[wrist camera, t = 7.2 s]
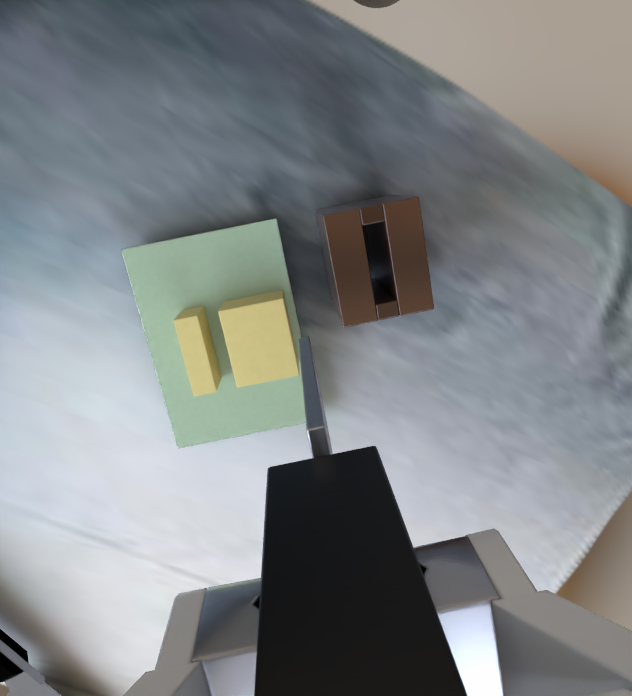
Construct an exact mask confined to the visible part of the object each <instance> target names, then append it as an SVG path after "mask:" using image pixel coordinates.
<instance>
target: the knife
mask: <svg viewBox="0 0 632 696" xmlns="http://www.w3.org/2000/svg"><path fill="white" fill-rule="evenodd" d="M298 346H299V356H300V367H301V377H302V387H303V398H304V408H305V418H306V429H307V435H308V439H309V444H310V448H311V453H312V459H307V460H302V461H297V462H292V463H288V464H283V465H278V466H273V467H269V468H268V471H267V487H266V504H265V521H264V538H263V555H262V571H261V588H260V605H259V622H258V639H257V655H256V672H255V689H254V696H468V695H467V693H466V690H465V687H464V684H463V682H462V679H461V676H460V673H459V671H458V668H457V665H456V663H455V660H454V657H453V654H452V652H451V649H450V646H449V644H448V641H447V638H446V635H445V633H444V630H443V627H442V624H441V622H440V619H439V616H438V614H437V611H436V608H435V605H434V603H433V600H432V597H431V594H430V592H429V589H428V586H427V584H426V581H425V578H424V575H423V573H422V570H421V567H420V564H419V562H418V559H417V556H416V554H415V551H414V548H413V545H412V543H411V540H410V537H409V534H408V532H407V529H406V526H405V524H404V521H403V518H402V515H401V513H400V510H399V507H398V505H397V502H396V499H395V496H394V494H393V491H392V488H391V485H390V483H389V480H388V477H387V475H386V472H385V469H384V466H383V464H382V461H381V458H380V455H379V453H378V450H377V448H376V446H371V447H366V448H361V449H356V450H351V451H346V452H341V453H336V454H333V453H332V448H331V442H330V437H329V432H328V426H327V422H326V417H325V412H324V407H323V402H322V397H321V392H320V388H319V383H318V378H317V373H316V368H315V363H314V359H313V354H312V349H311V344H310V339H309V337H303V338H299V339H298Z"/></svg>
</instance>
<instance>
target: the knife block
mask: <svg viewBox="0 0 632 696" xmlns="http://www.w3.org/2000/svg"><path fill="white" fill-rule="evenodd" d="M315 213H316V219H317V224H318V229H319V235H320V240H321V245H322V251H323V256H324V261H325V267H326V272H327V277H328V283H329V288H330V293H331V299H332V301H333V304H334V306H335V308H336V311H337V313H338V315H339V318H340V320H341V323H342V325H343V327H349V326H354V325H359V324H364V323H369V322H374V321H377V320H383V319H388V318H393V317H398V316H399V315H400V316H403V315H408V314H413V313H418V312H423V311H428V310H433V309H434V304H433V297H432V289H431V282H430V275H429V268H428V260H427V253H426V246H425V238H424V231H423V224H422V217H421V209H420V202H419V197H417V196H399V195H387V196H382V197H377V198H372V199H367V200H363V201H357V202H352V203H347V204H344V205H343V204H342V205H337V206H332V207H327V208H322V209H317V210H315ZM362 225H366V227H367V233H368V239H369V245H370V251H371V257H372V263H373V270H374V276H375V278H372V279H371V276H370V270H369V264H368V258H367V252H366V246H365V240H364V234H363V228H362Z"/></svg>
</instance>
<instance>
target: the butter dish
mask: <svg viewBox="0 0 632 696" xmlns="http://www.w3.org/2000/svg"><path fill="white" fill-rule="evenodd" d="M121 252H122V256H123V259H124V263H125V266H126V270H127V273H128V277H129V280H130V284H131V287H132V291H133V294H134V298H135V301H136V305H137V308H138V311H139V315H140V318H141V322H142V325H143V329H144V332H145V336H146V339H147V343H148V346H149V350H150V353H151V357H152V360H153V364H154V367H155V371H156V374H157V378H158V381H159V385H160V388H161V392H162V395H163V399H164V402H165V406H166V409H167V413H168V416H169V420H170V423H171V427H172V430H173V434H174V437H175V441H176V444H177V448H183V447H188V446H193V445H198V444H203V443H208V442H213V441H218V440H223V439H228V438H233V437H238V436H243V435H248V434H253V433H258V432H263V431H268V430H273V429H278V428H283V427H288V426H293V425H298V424H303V423H306V418H305V408H304V398H303V387H302V377H301V367H300V356H299V346H298V339H299V338H302V337H301V332H300V327H299V323H298V318H297V313H296V308H295V303H294V298H293V294H292V289H291V284H290V279H289V274H288V269H287V265H286V260H285V255H284V250H283V245H282V240H281V236H280V231H279V226H278V221H277V218H273V219H268V220H263V221H258V222H253V223H248V224H243V225H238V226H233V227H228V228H223V229H218V230H213V231H208V232H203V233H198V234H193V235H188V236H183V237H178V238H173V239H168V240H163V241H158V242H153V243H148V244H143V245H138V246H133V247H128V248H124V249H122V250H121ZM280 290H283V291H284V295H285V299H286V304H287V309H288V314H289V318H290V323H291V328H292V333H293V337H294V342H295V347H296V352H297V356H298V361H299V376H294V377H289V378H284V379H279V380H274V381H269V382H264V383H259V384H254V385H249V386H244V387H239V388H237V386H236V382H235V378H234V374H233V370H232V366H231V362H230V358H229V354H228V350H227V346H226V342H225V338H224V333H223V329H222V325H221V321H220V317H219V313H218V311H219V309H220V307H221V306H222V304H223V302H225V301H230V300H235V299H240V298H245V297H250V296H255V295H260V294H265V293H270V292H275V291H280ZM200 306H204V307H205V311H206V315H207V319H208V323H209V327H210V331H211V335H212V339H213V343H214V347H215V351H216V355H217V359H218V363H219V367H220V371H221V374H222V378H221V381H220V384H219V387H218V390H217V392H214V393H209V394H204V395H199V396H193V392H192V389H191V385H190V381H189V377H188V374H187V370H186V366H185V363H184V359H183V355H182V352H181V348H180V344H179V340H178V337H177V333H176V329H175V326H174V322H173V320H174V319H175V318H176V316H177V315H178V314H179V313H180V312H181V311H182V310H185V309H190V308H195V307H200Z"/></svg>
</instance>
